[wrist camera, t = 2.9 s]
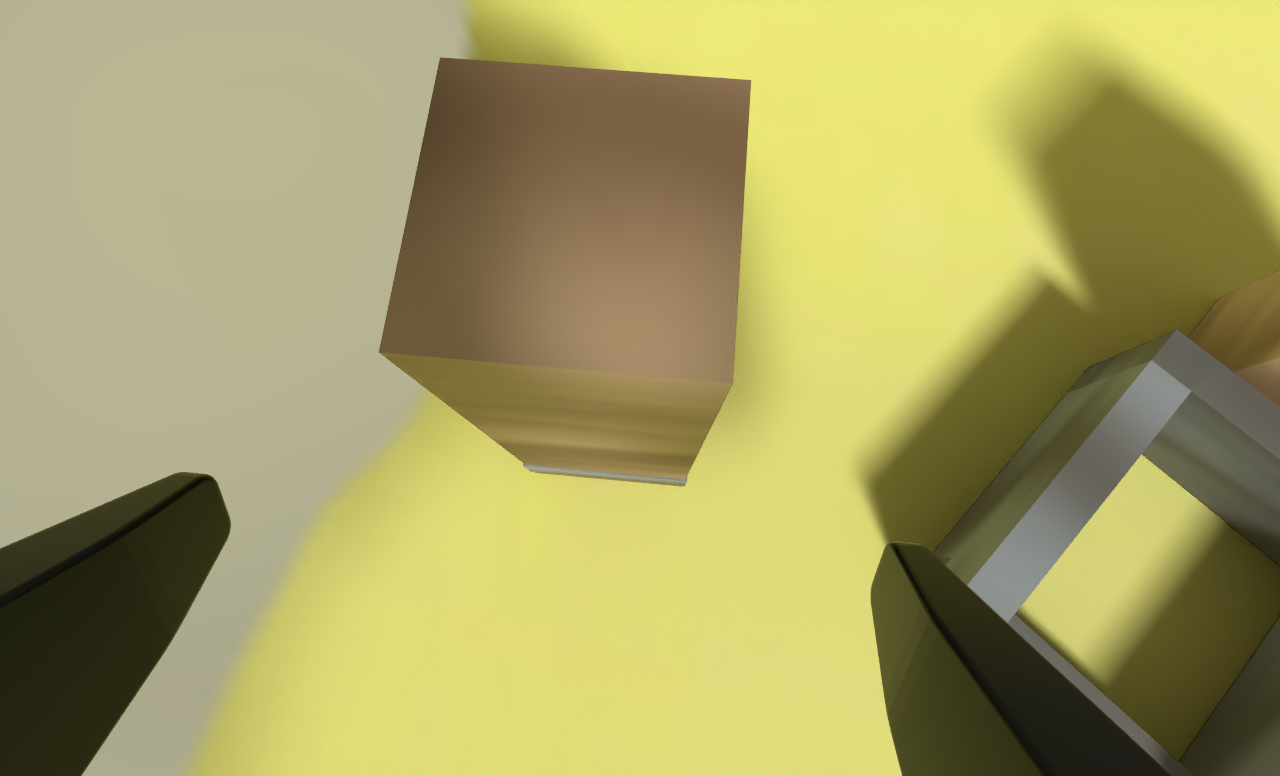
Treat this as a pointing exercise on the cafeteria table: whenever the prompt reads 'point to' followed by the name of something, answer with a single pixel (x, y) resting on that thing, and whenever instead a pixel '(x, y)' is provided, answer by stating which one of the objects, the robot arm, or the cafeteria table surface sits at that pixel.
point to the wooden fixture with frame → (1186, 451)
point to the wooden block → (576, 262)
